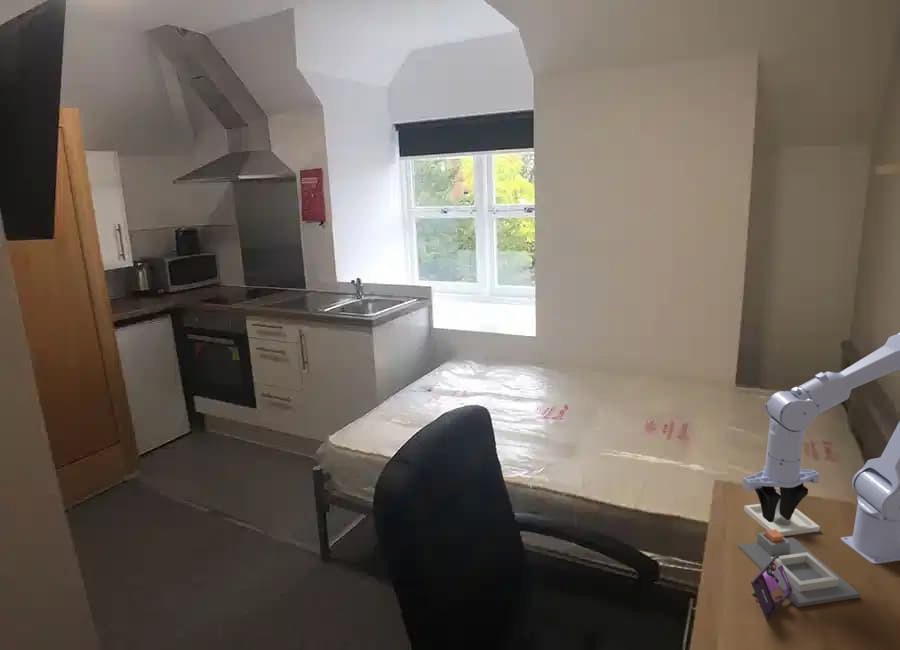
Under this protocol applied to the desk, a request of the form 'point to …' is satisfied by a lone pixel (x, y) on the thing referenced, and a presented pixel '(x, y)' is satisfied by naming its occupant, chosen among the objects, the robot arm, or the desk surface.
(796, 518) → the tray
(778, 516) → the cylinder
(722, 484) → the desk surface
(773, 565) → the eggplant monster toy
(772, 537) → the button
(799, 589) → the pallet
